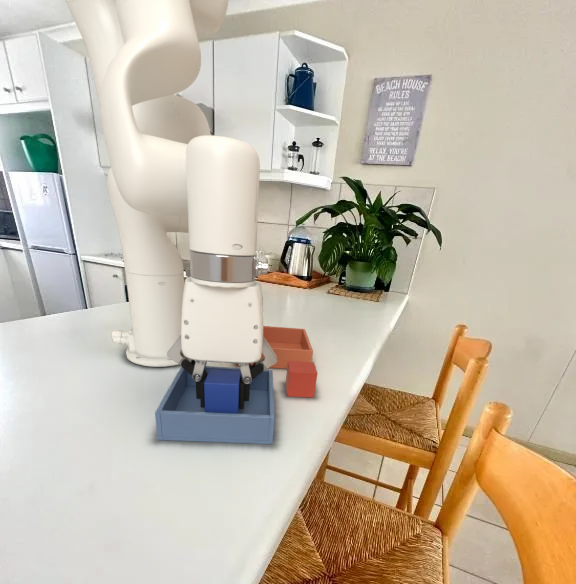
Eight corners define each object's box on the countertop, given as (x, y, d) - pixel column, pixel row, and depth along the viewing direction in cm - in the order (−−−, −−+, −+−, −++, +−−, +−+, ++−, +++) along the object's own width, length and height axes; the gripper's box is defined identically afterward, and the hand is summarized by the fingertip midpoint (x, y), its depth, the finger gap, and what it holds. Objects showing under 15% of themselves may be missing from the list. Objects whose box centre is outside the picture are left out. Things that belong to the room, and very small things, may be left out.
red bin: (237, 365, 62) (238, 346, 60) (242, 341, 74) (242, 324, 73) (310, 370, 63) (313, 351, 61) (303, 345, 76) (305, 328, 74)
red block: (287, 396, 53) (289, 371, 51) (285, 384, 57) (287, 360, 55) (314, 397, 53) (317, 373, 51) (310, 385, 57) (313, 362, 55)
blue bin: (157, 440, 40) (154, 412, 38) (183, 387, 52) (182, 364, 50) (272, 444, 41) (274, 417, 39) (270, 391, 54) (272, 369, 52)
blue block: (204, 412, 44) (203, 382, 42) (209, 396, 48) (209, 368, 46) (238, 413, 44) (238, 384, 42) (240, 397, 48) (241, 370, 46)
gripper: (292, 271, 42) (281, 394, 50) (158, 259, 40) (169, 388, 48) (297, 280, 35) (283, 420, 43) (137, 267, 34) (154, 415, 42)
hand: (223, 402), depth 46 cm, fingers closed on blue block, 4 cm apart
